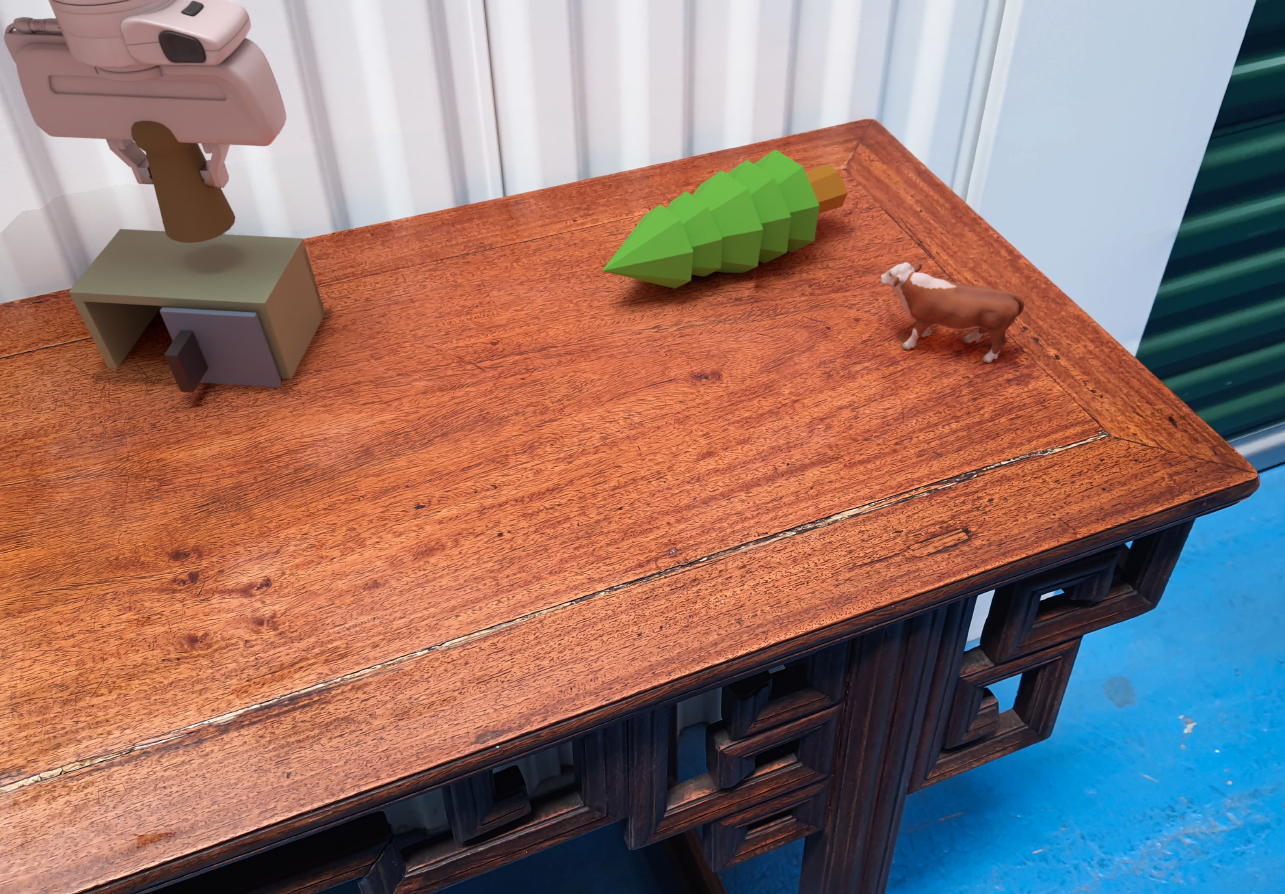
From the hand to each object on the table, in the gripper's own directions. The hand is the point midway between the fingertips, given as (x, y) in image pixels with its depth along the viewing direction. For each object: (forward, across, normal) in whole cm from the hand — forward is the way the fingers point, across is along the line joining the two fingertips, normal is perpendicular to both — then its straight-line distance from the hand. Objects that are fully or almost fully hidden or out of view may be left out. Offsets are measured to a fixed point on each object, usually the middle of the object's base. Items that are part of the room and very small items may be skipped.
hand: (185, 182), depth 86 cm
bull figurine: (+18, +68, +6) cm, 71 cm away
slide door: (+17, +2, -9) cm, 19 cm away
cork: (+4, 0, 0) cm, 4 cm away
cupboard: (+18, -2, -1) cm, 18 cm away
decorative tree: (+18, +46, +17) cm, 52 cm away
